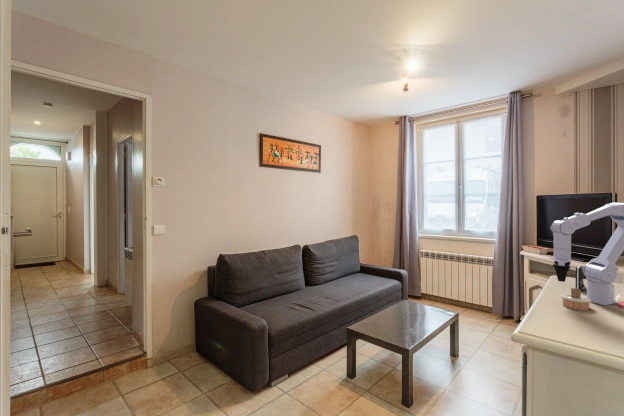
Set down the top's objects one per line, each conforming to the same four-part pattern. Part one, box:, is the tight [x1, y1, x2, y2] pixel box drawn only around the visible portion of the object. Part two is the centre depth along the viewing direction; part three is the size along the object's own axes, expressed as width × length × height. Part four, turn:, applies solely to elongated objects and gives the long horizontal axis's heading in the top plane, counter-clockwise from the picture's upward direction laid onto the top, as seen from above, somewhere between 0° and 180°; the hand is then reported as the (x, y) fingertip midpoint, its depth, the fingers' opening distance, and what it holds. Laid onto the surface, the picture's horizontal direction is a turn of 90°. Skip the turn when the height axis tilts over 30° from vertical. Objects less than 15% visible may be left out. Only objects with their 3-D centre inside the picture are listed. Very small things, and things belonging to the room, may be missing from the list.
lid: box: [560, 287, 592, 304], centre depth 120 cm, size 9×9×4 cm
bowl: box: [562, 298, 590, 311], centre depth 120 cm, size 8×8×3 cm
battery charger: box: [574, 265, 587, 292], centre depth 142 cm, size 7×4×11 cm, turn 127°
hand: (561, 279), depth 127 cm, fingers open, 7 cm apart
